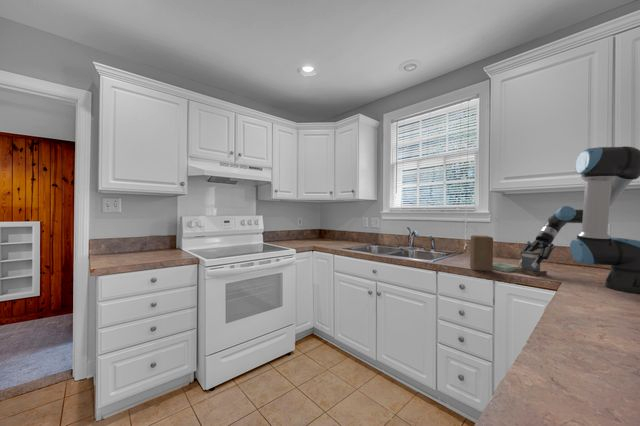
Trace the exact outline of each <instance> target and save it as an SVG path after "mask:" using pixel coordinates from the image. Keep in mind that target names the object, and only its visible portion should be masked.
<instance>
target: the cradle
mask: <svg viewBox="0 0 640 426" xmlns="http://www.w3.org/2000/svg"><path fill="white" fill-rule="evenodd" d="M514 272H515V273H519V274H523V275H528V276H532V277H537V276H538V277H539V276H547V270H540V271H538V272H532V271H527V270H522V267H520V268H515V271H514Z"/></svg>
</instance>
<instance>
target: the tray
mask: <svg viewBox="0 0 640 426" xmlns="http://www.w3.org/2000/svg"><path fill="white" fill-rule="evenodd" d="M515 268H521V266H520V265H516V264H512V263H511V264H510V263H506V262H493V270H495V271H499V272H502V273H503V272H504V273H508V272H515Z"/></svg>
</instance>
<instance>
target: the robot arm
mask: <svg viewBox="0 0 640 426" xmlns="http://www.w3.org/2000/svg"><path fill="white" fill-rule="evenodd" d="M574 167H575V170H576V173H577V174H579V175H581V176H580V178H581V179H582V180H584V182H585V183H584V194H583V195H584V196H583V207H582V208H583V209H575V208H573V207H572V206H569V205H565V206H562V207H560V208H559V209H557V210H556V211H555V212H554V213H552V214H551V215H550V216H549V217H548V218H547V221H546V222H545V224H544V225H543V227H542V228H541V229H540V230H539V232H538V233H537V235H536V237H535V240H533V241H530V240H528V241H527V243H526V244H525V246H524V247H523V248H522V250H521V251H520V254H521V257H520V258H519V262H518V264H519V266H520V267H522V252H524V251H532V252H536V251H537V250H539V255H538V256H539V257H536V259H535V260H534V262H533V263H532V265H531V266H532V267H533V269H535V268H536V266H537V265H538V264H540V265H541V263H542V261H544V260H549V257H550V256H551V253H552V251H553V250H554V249H555V248H556V246H555V245H554V243H553V242H554V240H555V238H556V237H557V236H558V235H559V232H560V231H561V229H562V228H563V227H565V225H567V224H581V231H580V232H579V233H578V234H577V235H576V238H573V239H572V240H571V241H570V244H569V252H570V253H571V256H572V258H573V259H574V260H575V261H576V262H577V263H579V264H582V265H589V266H592V265H593V266H597V265H598V266H610V271H609V273H608V275H607V276H606V279H605V281H604V286H605V287H606V288H608V289H612V290H615V291H619V292H620V291H621V292H627V293H632V294H640V240H638V239H631V238H623V237H614V236H613V237H612V236H611V235H610V234H609V233H608V231H609V230H608V229H609V219H610V217H609V216H610V207H612V205H613V204H614V202H615V201H617V200H618V198H619V197H620V196H621V194H622V193H623V192H624V191H625V190H626V189H627V187H629V185H630V184H631V183H632V182H633V180H637V179H639V178H640V149H638V148H636V147H633V146H603V147H602V146H600V147H599V146H598V147H590V148H586V149H584V150H583V151H581V153H580V154H579V155H578V157H577V158H576V162H575V165H574Z"/></svg>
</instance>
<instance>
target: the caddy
mask: <svg viewBox="0 0 640 426" xmlns="http://www.w3.org/2000/svg"><path fill="white" fill-rule="evenodd" d="M539 253H540V251H533V252H532V251H524V252H522V255H521V257H522V266H521V268H522V270H527V271H532V272H538V271H541V263H540V264H538V265H537V266H536V268H535V269H533V267H532V266H531V265H532V263H533V262H534V260H535V259H536V257H539V256H538V255H539Z"/></svg>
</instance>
